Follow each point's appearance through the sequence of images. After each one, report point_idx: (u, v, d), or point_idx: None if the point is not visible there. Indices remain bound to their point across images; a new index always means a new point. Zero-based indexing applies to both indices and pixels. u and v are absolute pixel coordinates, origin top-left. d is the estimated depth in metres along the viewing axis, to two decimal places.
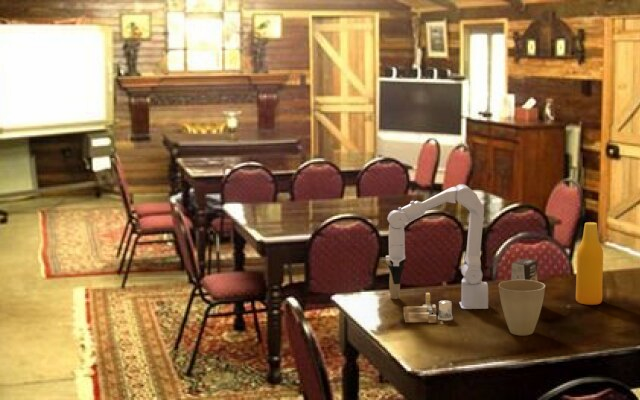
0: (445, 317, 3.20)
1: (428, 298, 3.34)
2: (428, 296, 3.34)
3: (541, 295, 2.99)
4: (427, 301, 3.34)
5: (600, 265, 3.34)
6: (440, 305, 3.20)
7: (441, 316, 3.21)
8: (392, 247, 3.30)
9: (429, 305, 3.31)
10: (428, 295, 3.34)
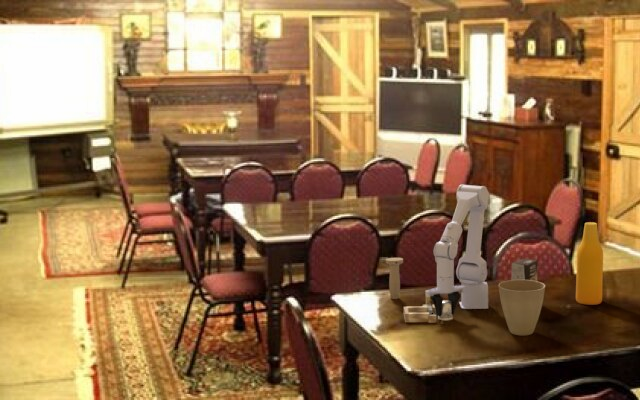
0: (445, 317, 3.20)
1: (428, 298, 3.34)
2: None
3: (541, 295, 2.99)
4: (427, 301, 3.34)
5: (600, 265, 3.34)
6: None
7: (441, 316, 3.21)
8: (437, 277, 3.20)
9: (429, 305, 3.31)
10: None
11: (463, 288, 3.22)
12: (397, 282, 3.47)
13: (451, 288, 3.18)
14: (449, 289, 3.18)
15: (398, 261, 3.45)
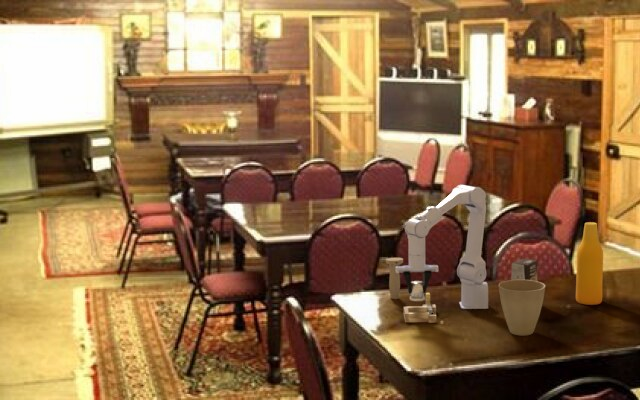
0: (415, 297, 3.20)
1: (428, 298, 3.34)
2: (428, 296, 3.34)
3: (542, 295, 2.99)
4: (427, 301, 3.34)
5: (600, 265, 3.34)
6: (411, 285, 3.21)
7: (412, 296, 3.21)
8: None
9: (429, 305, 3.31)
10: (428, 295, 3.34)
11: (436, 268, 3.20)
12: (397, 282, 3.47)
13: (420, 266, 3.18)
14: (418, 267, 3.18)
15: (398, 261, 3.45)
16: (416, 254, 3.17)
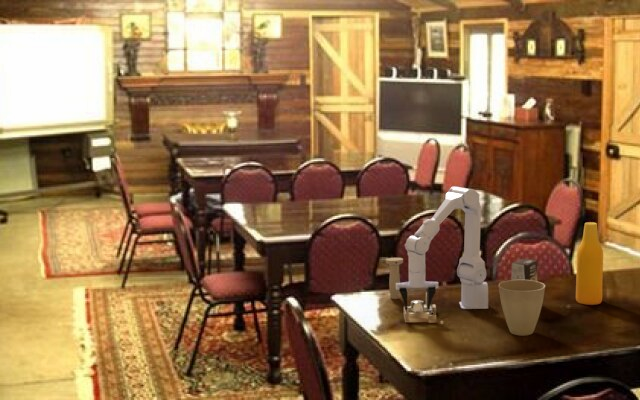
0: None
1: None
2: None
3: (541, 295, 2.99)
4: None
5: (600, 265, 3.34)
6: (411, 304, 3.22)
7: None
8: None
9: None
10: None
11: (436, 284, 3.21)
12: (397, 282, 3.47)
13: (420, 283, 3.19)
14: (418, 284, 3.19)
15: (398, 261, 3.45)
16: (416, 271, 3.18)
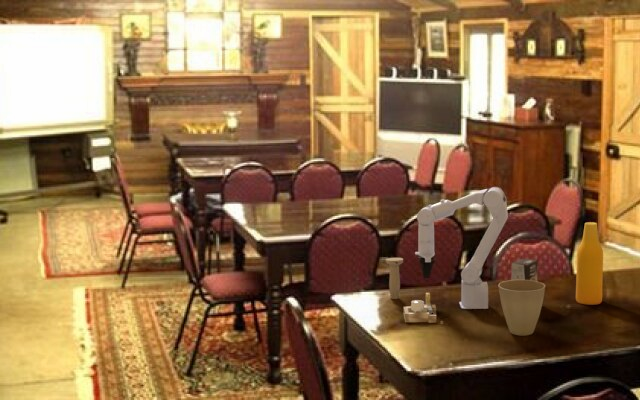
0: None
1: (428, 298, 3.34)
2: (428, 296, 3.34)
3: (541, 295, 2.99)
4: (427, 301, 3.34)
5: (600, 265, 3.34)
6: (411, 304, 3.22)
7: None
8: (422, 243, 3.35)
9: (429, 305, 3.31)
10: (428, 295, 3.34)
11: None
12: (397, 282, 3.47)
13: None
14: None
15: (398, 261, 3.45)
16: (420, 240, 3.36)
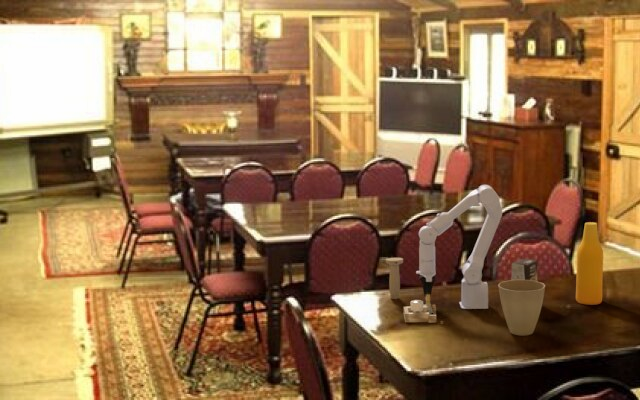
0: None
1: (428, 298, 3.34)
2: (428, 296, 3.33)
3: (541, 295, 2.99)
4: (427, 301, 3.34)
5: (600, 265, 3.34)
6: (410, 304, 3.22)
7: None
8: (423, 263, 3.33)
9: (429, 305, 3.31)
10: (428, 295, 3.33)
11: None
12: (397, 282, 3.47)
13: None
14: None
15: (398, 261, 3.45)
16: (422, 259, 3.33)
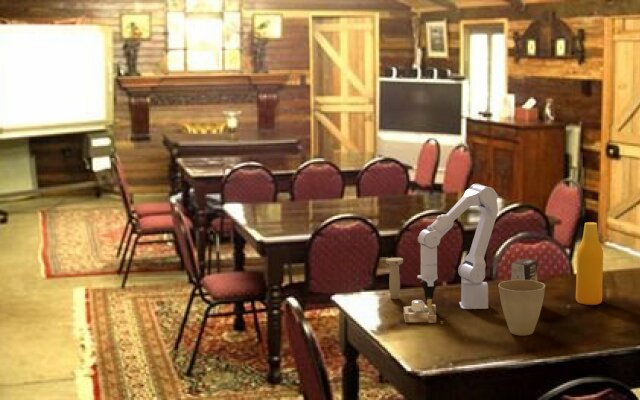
0: None
1: (430, 303, 3.28)
2: (430, 301, 3.28)
3: (541, 295, 2.99)
4: (429, 306, 3.28)
5: (600, 265, 3.34)
6: None
7: None
8: (425, 267, 3.26)
9: (431, 310, 3.25)
10: (430, 300, 3.28)
11: None
12: (397, 282, 3.47)
13: None
14: None
15: (398, 261, 3.45)
16: (426, 264, 3.26)
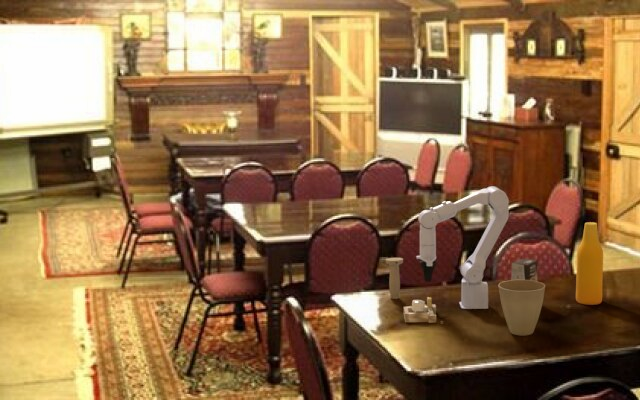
0: None
1: (430, 303, 3.28)
2: (430, 301, 3.28)
3: (541, 295, 2.99)
4: (428, 306, 3.28)
5: (600, 265, 3.34)
6: (412, 303, 3.23)
7: None
8: (424, 247, 3.30)
9: (431, 310, 3.25)
10: (430, 300, 3.28)
11: None
12: (397, 282, 3.47)
13: None
14: (435, 255, 3.32)
15: (398, 261, 3.45)
16: (423, 244, 3.30)
